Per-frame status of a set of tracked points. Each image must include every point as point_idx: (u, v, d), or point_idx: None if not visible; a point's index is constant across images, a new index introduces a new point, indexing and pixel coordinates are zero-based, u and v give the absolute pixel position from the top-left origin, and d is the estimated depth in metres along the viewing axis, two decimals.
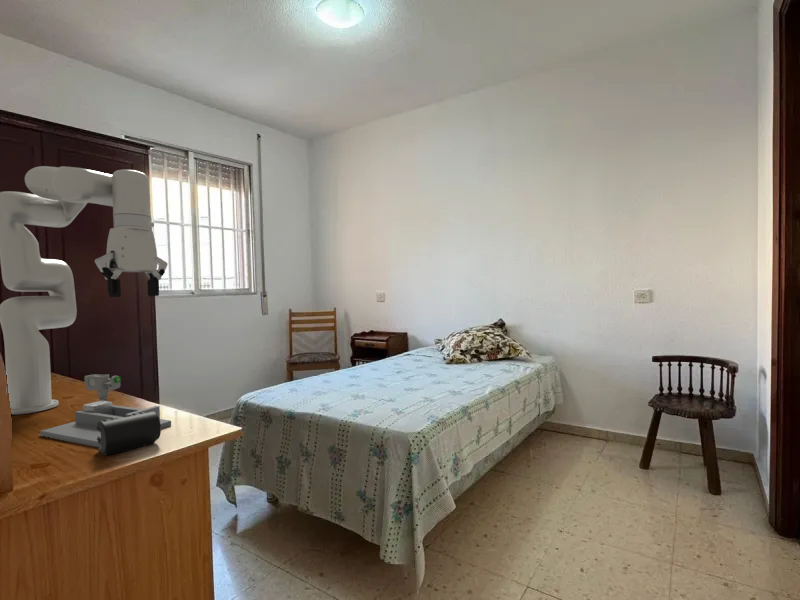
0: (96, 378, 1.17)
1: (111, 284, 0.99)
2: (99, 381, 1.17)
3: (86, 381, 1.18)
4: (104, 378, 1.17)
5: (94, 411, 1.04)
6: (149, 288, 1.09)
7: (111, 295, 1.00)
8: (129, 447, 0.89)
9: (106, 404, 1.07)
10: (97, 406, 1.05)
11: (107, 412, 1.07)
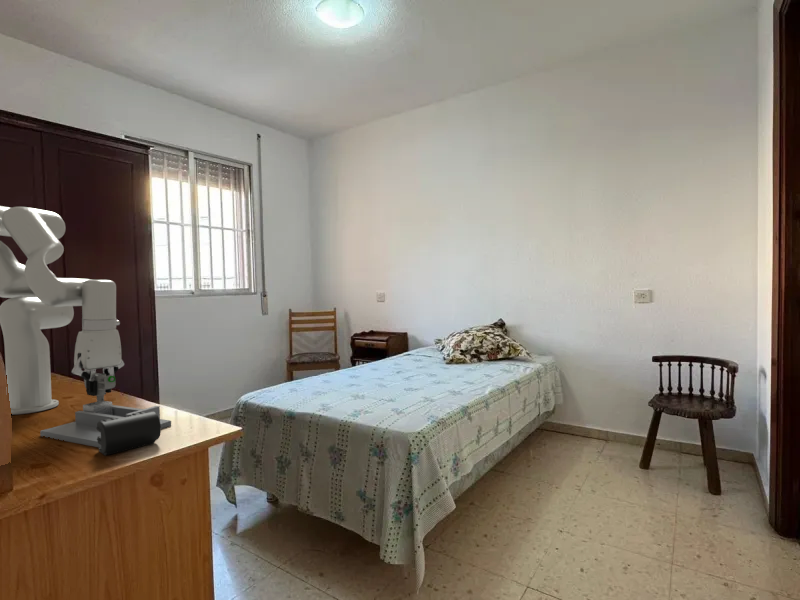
0: None
1: (89, 385, 1.16)
2: (95, 380, 1.17)
3: (85, 380, 1.19)
4: (100, 377, 1.17)
5: (94, 411, 1.04)
6: None
7: (89, 393, 1.17)
8: (129, 447, 0.89)
9: (106, 404, 1.07)
10: (97, 406, 1.05)
11: (107, 412, 1.07)
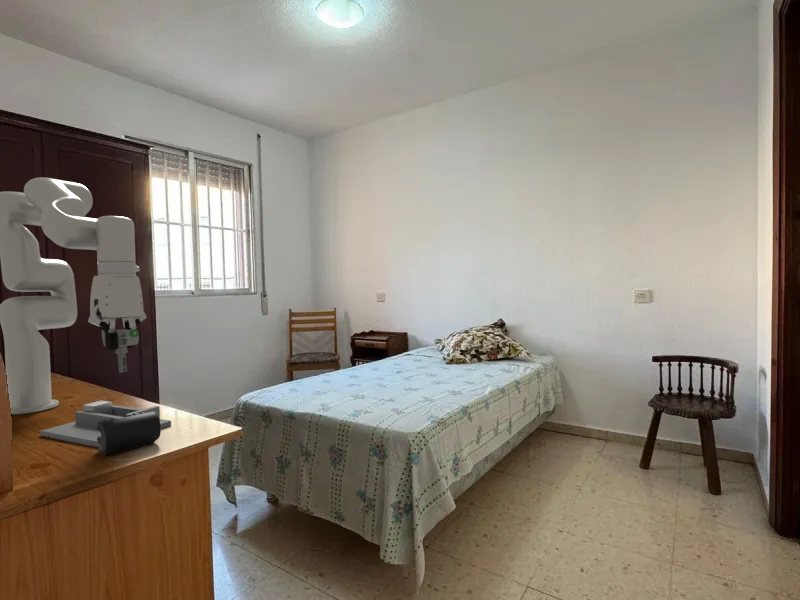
0: None
1: (108, 338, 1.00)
2: None
3: (103, 336, 1.03)
4: (121, 332, 1.02)
5: (94, 411, 1.04)
6: None
7: (108, 348, 1.01)
8: (129, 447, 0.89)
9: (106, 404, 1.07)
10: (97, 406, 1.05)
11: (107, 412, 1.07)
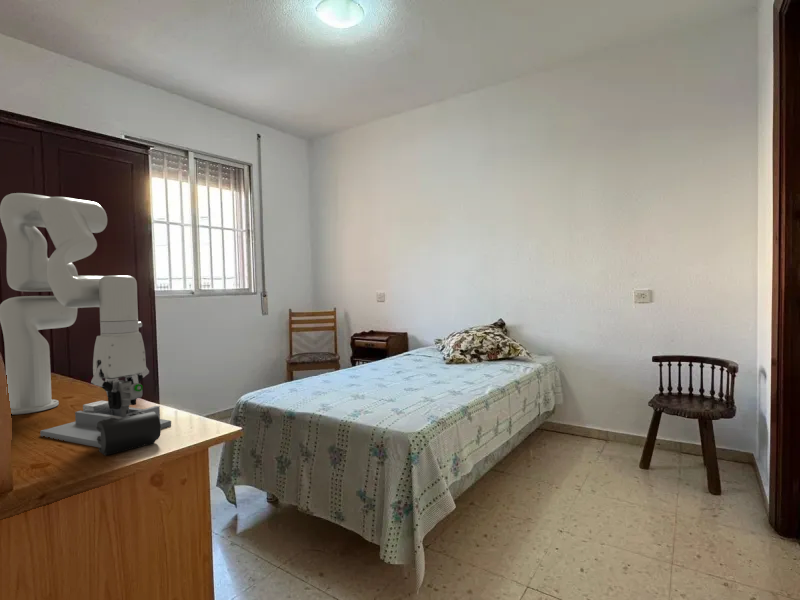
0: None
1: (111, 397, 1.00)
2: (119, 389, 1.01)
3: None
4: (125, 385, 1.02)
5: (94, 411, 1.04)
6: None
7: (111, 407, 1.01)
8: (129, 447, 0.89)
9: (106, 404, 1.07)
10: (97, 406, 1.05)
11: (107, 412, 1.07)
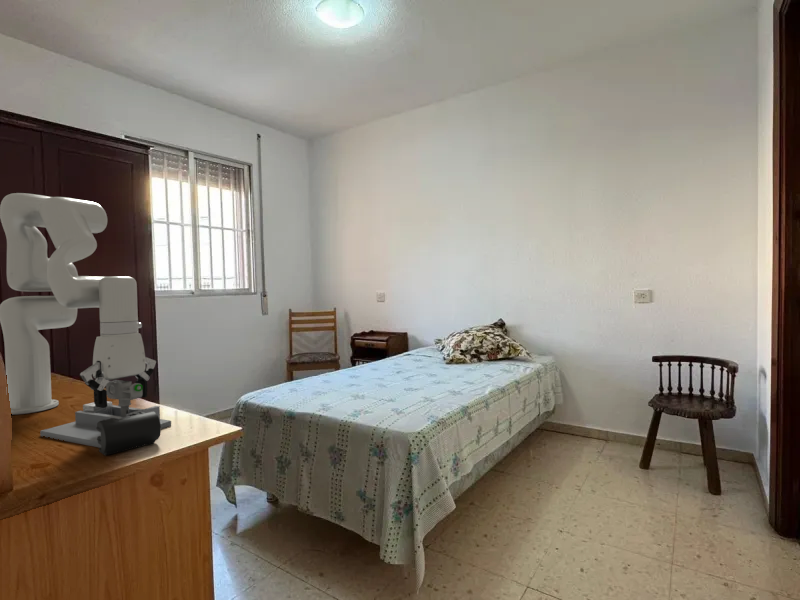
0: (116, 385, 1.02)
1: (97, 395, 0.98)
2: (119, 389, 1.01)
3: (107, 388, 1.03)
4: (125, 385, 1.02)
5: (94, 411, 1.04)
6: None
7: (97, 405, 0.99)
8: (129, 447, 0.89)
9: None
10: None
11: (107, 412, 1.07)
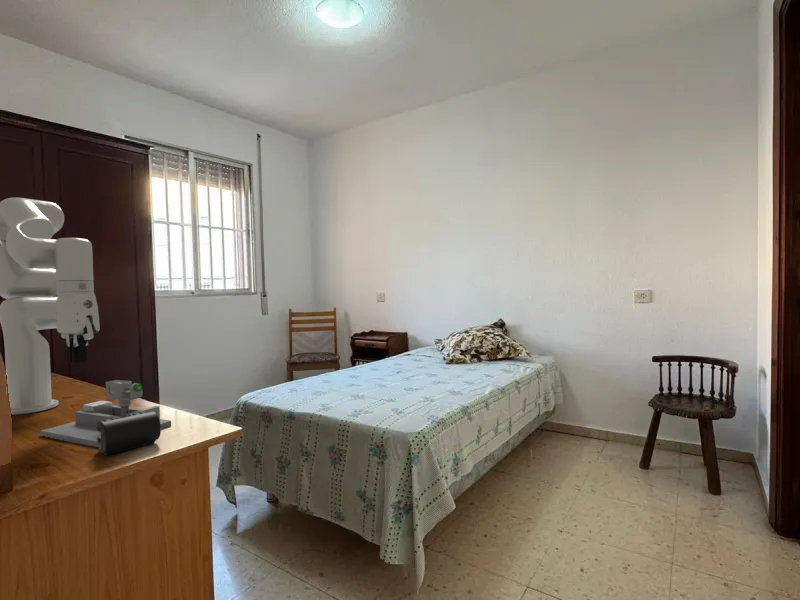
0: (116, 385, 1.02)
1: None
2: (119, 389, 1.01)
3: (107, 388, 1.03)
4: (125, 385, 1.02)
5: (94, 411, 1.04)
6: None
7: None
8: (129, 447, 0.89)
9: (106, 404, 1.07)
10: (97, 406, 1.05)
11: (107, 412, 1.07)
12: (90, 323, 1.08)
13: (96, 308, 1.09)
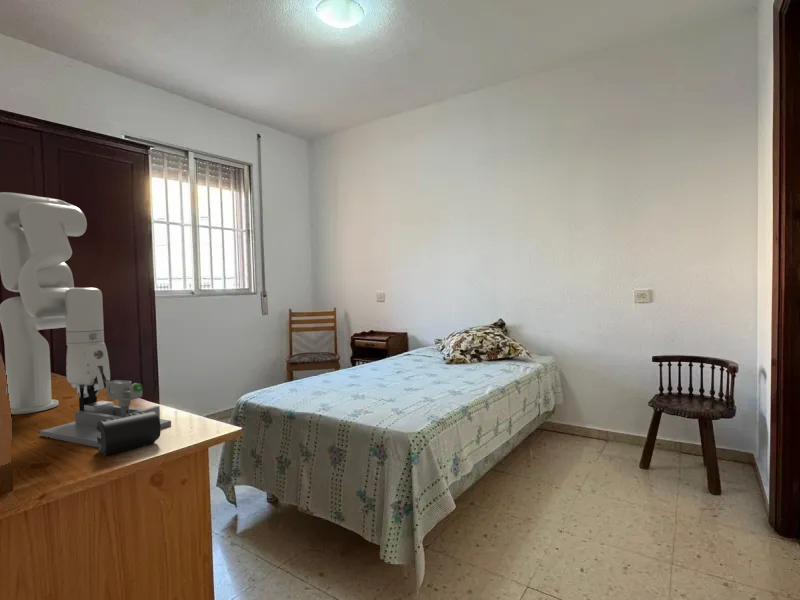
0: (116, 385, 1.02)
1: None
2: (119, 389, 1.01)
3: (107, 388, 1.03)
4: (125, 385, 1.02)
5: (95, 411, 1.04)
6: None
7: None
8: (129, 447, 0.89)
9: (107, 404, 1.07)
10: (98, 406, 1.05)
11: (108, 412, 1.07)
12: (101, 373, 1.07)
13: (106, 358, 1.08)
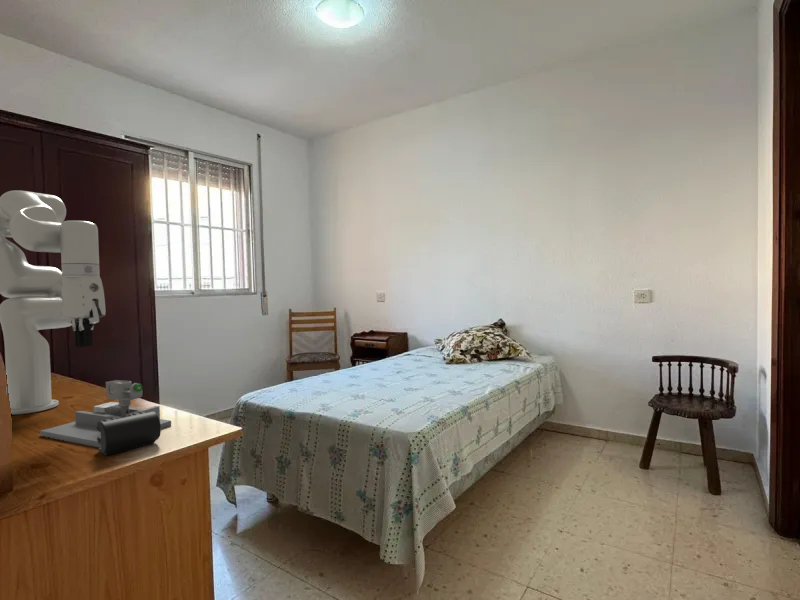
0: (116, 385, 1.02)
1: None
2: (119, 389, 1.01)
3: (107, 388, 1.03)
4: (125, 385, 1.02)
5: (105, 413, 1.03)
6: None
7: None
8: (129, 447, 0.89)
9: (117, 405, 1.05)
10: (108, 407, 1.03)
11: (118, 414, 1.05)
12: (96, 307, 1.07)
13: (102, 292, 1.08)
